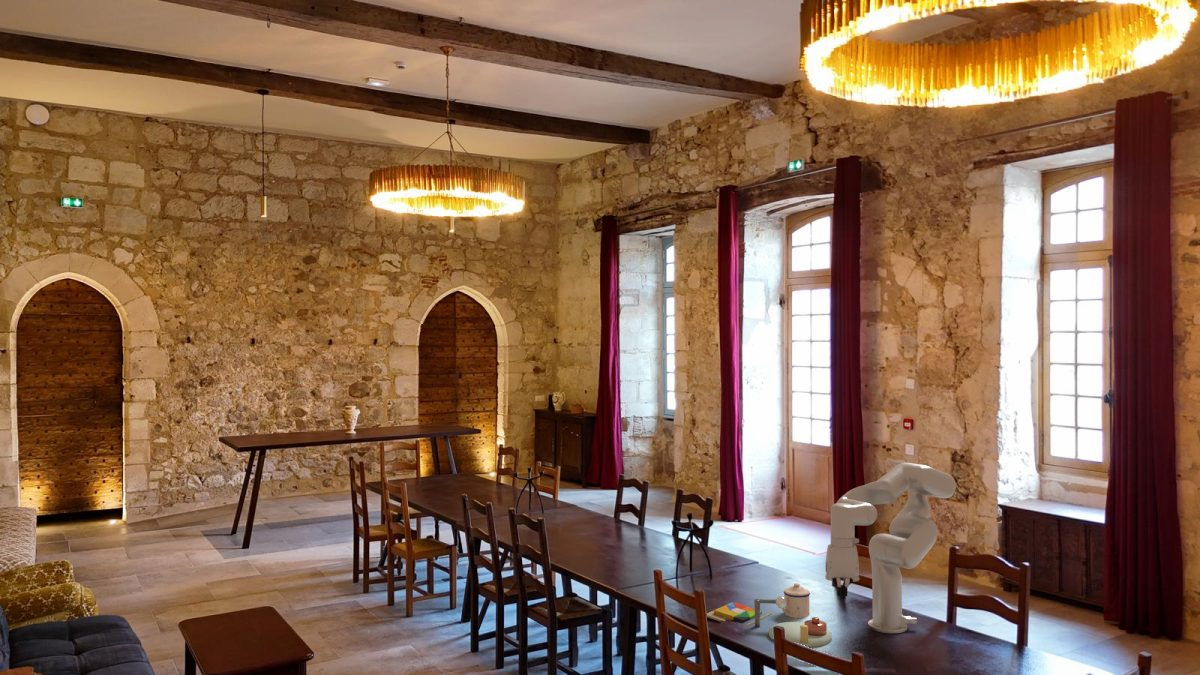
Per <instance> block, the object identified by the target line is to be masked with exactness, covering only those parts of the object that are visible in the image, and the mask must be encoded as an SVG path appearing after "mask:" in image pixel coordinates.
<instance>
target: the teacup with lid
mask: <svg viewBox="0 0 1200 675" xmlns="http://www.w3.org/2000/svg"><path fill="white" fill-rule="evenodd" d="M783 594H784V596H783V597H784V598H785V599H786V601H787V605H786V607H785V608H780V609H781V611H782V612H783V613H784V615H785V616H787V617H790V618H793V619H797V618H798V619H804V618H808V617H809V616H810V613H811V611H810V595H811V593H810V590H809V589H807V588H804V587H803V586H801V585H800V583H799V582H798V583H797V582H795V583H794V584H793V585H792V586H790V587H786V588H785V589H784V590H783Z"/></svg>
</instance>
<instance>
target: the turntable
mask: <svg viewBox="0 0 1200 675" xmlns="http://www.w3.org/2000/svg"><path fill="white" fill-rule="evenodd" d="M775 625H778V626H782V627H784V628H785V631H786V639H788V640H790V641H792V642H796V643H799V644H802V645H805V646H808V647H809V648H819V647H823V646H826V645H828V644H830V643H831V642H832V638H833V635H832V632H831V630H829V629H828V628H827V634H826V635H824V636H811V635H808V626H807V625H805V621H804V622H803V621H802V622H801V621H786V622H779V623H777V624H774V625H772V626H770V627H769V629H768V636H769V638H770V639H771V640H772V641H774V640H773V631H772V629H773V626H775Z"/></svg>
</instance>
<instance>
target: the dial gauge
mask: <svg viewBox="0 0 1200 675" xmlns="http://www.w3.org/2000/svg"><path fill="white" fill-rule="evenodd" d="M753 601H754V609H755V618H754V620H755V623H754V627H755V628H761V620H760V617H761V615H760V611H761V608H760V607H761V604H773V605H774V604H776V606H777V608H779V609H781V608H784V609H785V607H786V605H787V601H786V599H785V598H784V596H778V597H777V598H776V599H759V598H755V599H754V600H753Z"/></svg>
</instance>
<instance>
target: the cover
mask: <svg viewBox="0 0 1200 675" xmlns="http://www.w3.org/2000/svg"><path fill="white" fill-rule="evenodd" d="M804 622H805V625H807V626H808V635H811V636H824V635H826V634H827V629H828V628H827V627H828V626H827V624H828V623H827V622H825V621H823V620H820V618H819V617H815V616H814V617H811V619H807V620H805V621H804Z"/></svg>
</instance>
